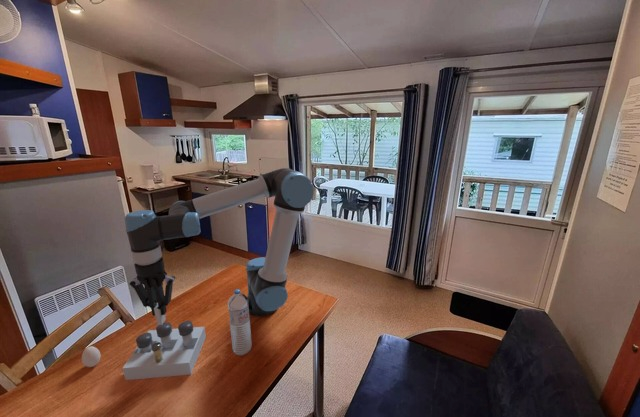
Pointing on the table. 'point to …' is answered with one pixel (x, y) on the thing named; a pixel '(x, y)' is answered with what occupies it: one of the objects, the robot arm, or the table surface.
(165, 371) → the console
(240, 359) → the table surface
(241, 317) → the water bottle
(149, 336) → the knob
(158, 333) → the knob mid
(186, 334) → the knob
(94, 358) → the egg
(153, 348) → the pot stem
